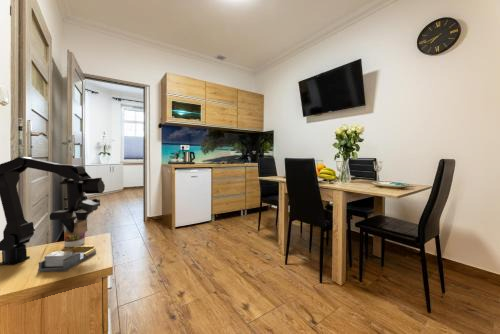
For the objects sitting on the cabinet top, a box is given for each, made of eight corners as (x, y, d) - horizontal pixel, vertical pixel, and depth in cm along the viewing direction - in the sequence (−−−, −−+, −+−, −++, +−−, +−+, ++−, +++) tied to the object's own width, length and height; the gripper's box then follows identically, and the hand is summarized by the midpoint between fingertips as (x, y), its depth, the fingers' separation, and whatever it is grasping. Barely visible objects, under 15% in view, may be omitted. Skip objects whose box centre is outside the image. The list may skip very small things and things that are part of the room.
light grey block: (44, 266, 79) (44, 256, 79) (57, 260, 85) (56, 250, 84) (63, 266, 80) (63, 255, 79) (74, 259, 85) (74, 250, 85)
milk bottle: (61, 245, 103) (60, 204, 102) (81, 240, 109) (80, 202, 109) (68, 249, 99) (67, 206, 98) (87, 243, 105) (86, 203, 105)
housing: (66, 235, 88) (65, 223, 88) (75, 231, 93) (75, 219, 93) (78, 234, 88) (77, 223, 88) (87, 230, 93) (86, 219, 93)
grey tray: (38, 272, 78) (37, 262, 78) (73, 252, 95) (73, 245, 95) (65, 271, 79) (65, 262, 79) (96, 252, 95) (96, 244, 95)
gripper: (76, 197, 81) (78, 238, 81) (108, 190, 100) (110, 223, 100) (47, 198, 81) (49, 238, 81) (84, 191, 99) (86, 224, 100)
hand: (76, 230), depth 91 cm, fingers closed on housing, 5 cm apart
